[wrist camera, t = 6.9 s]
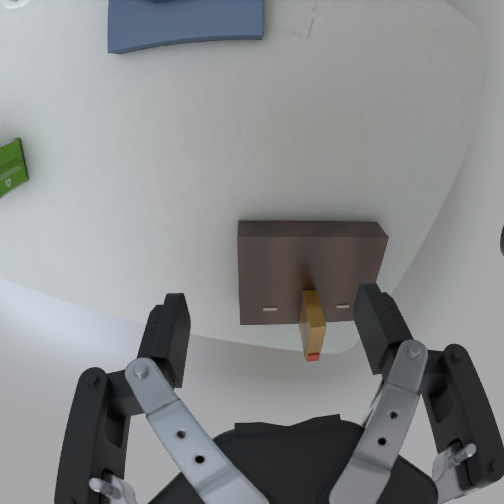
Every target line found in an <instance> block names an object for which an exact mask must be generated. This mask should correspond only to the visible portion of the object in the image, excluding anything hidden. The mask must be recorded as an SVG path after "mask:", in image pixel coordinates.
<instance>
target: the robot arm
mask: <svg viewBox="0 0 504 504" xmlns="http://www.w3.org/2000/svg"><path fill="white" fill-rule="evenodd" d="M353 317H354V321H355V324H356V327H357V329H358V332H359V335H360V338H361V340H362V343H363V346H364V349H365V352H366V355H367V358H368V361H369V364H370V367H371V370H372V373H373V375H376V374H381V375H382V377H383V379H382V380H381V382H380V385H379V387H378V389H377V391H376V394H375V396H374V398H373V400H372V402H371V404H370V406H369V409H368V410H367V412H366V414H365V416H364V418H363V419H362V421H361V423H360V425H358V424H356V423H353V422H349V421H345V420H341V419H340V414H336V415H330V416H322V417H315V418H312V419H309V420H306V421H304V422H301V423H298V424H295V425H292V426H282V425H275V424H269V423H263V422H255V423H235V429H233V430H229V431H227V432H224V433H222V434H220V435H218V436H216V437H215V438H213V439H211V438H210V437H209V435H208V434H207V433H206V432H205V430H204V429H203V428H202V427H201V426H200V424H199V423H198V421H197V420H196V419H195V418H194V416H193V415H192V414H191V412H190V411H189V410H188V408H187V407H186V405H185V404H184V403H183V401H182V400H181V399H180V398H179V397H178V396H177V395H176V393H175V392H174V388H182V382H183V375H184V368H185V361H186V355H187V348H188V341H189V335H190V328H191V321H190V315H189V311H188V307H187V304H186V300H185V296H184V294H183V293H167V294H166V297H165V301H164V304H163V305H156V306H155V307H154V309H153V310H152V311H151V312H150V314H149V318H148V321H147V324H146V328H145V331H144V335H143V338H142V341H141V345H140V348H139V352H138V356H137V358H136V359H135V360H133V361H132V362H130V363H129V364H128V366H127V367H126V369H124V370H121V371H117V372H112V373H107V374H106V373H105V371H104V370H102V369H101V368H97V367H93V368H89V369H87V370H85V371H84V372H83V373H82V374H81V376H80V378H79V381H78V384H77V388H76V391H75V395H74V399H73V402H72V406H71V410H70V414H69V419H68V423H67V428H66V431H65V436H64V441H63V446H62V451H61V456H60V463H59V469H58V475H57V482H56V489H55V499H54V503H55V504H137V502H136V499H135V492H134V490H133V488H132V486H131V485H130V484H128V483H127V482H126V481H124V471H125V460H126V449H127V441H128V433H129V425H130V418H131V416H132V415H138V414H142V413H145V414H146V418H147V420H148V422H149V423H150V425H151V427H152V428H153V430H154V432H155V433H156V435H157V436H158V438H159V440H160V441H161V443H162V444H163V446H164V447H165V449H166V450H167V452H168V453H169V455H170V456H171V457H172V459H173V460H174V462H175V463H176V464H177V466H178V467H179V469H180V470H181V472H180V473H179V474H178V475H177V476H176V477H175V478H174V479H173V480H172V481H171V482H170V483H169V484H168V485H167V486H166V487H165V488H164V489H163V490H162V491H160V492H159V493H158V494H157V495H156V496H155V497H154V498H153V499H152V500H151V501H150V502H149V503H148V504H442V503H444V502H447V501H449V500H451V499H457V498H460V497H462V496H465V495H467V494H470V493H472V492H474V491H477V490H479V489H481V488H483V487H486V486H488V485H490V484H492V483H494V482H496V481H498V480H499V479H501V478H502V477H503V475H504V446H503V443H502V440H501V436H500V433H499V430H498V427H497V424H496V421H495V418H494V415H493V412H492V409H491V406H490V404H489V401H488V399H487V396H486V393H485V391H484V388H483V386H482V383H481V381H480V379H479V377H478V374H477V372H476V369H475V367H474V365H473V363H472V360H471V358H470V356H469V354H468V352H467V351H466V349H465V348H464V347H462V346H461V345H458V344H450V345H448V346H447V347H446V348H445V350H444V351H434V350H427V348H426V347H425V346H424V345H423V344H422V343H421V342H419V341H417V340H414V339H413V337H412V335H411V333H410V331H409V329H408V327H407V325H406V323H405V321H404V319H403V317H402V316H401V313H400V311H399V309H398V307H397V305H396V303H395V301H394V299H393V298H392V297H390V296H389V295H388V294H387V293H386V292H384V293H381V291H380V289H379V287H378V285H377V284H376V283H375V282H374V283H363V284H360V285H359V287H358V291H357V295H356V299H355V303H354V307H353ZM420 394H422V397H423V400H424V403H425V407H426V410H427V414H428V417H429V421H430V424H431V428H432V432H433V436H434V439H435V444H436V448H437V452H438V455H437V457H436V458H435V460H434V462H433V469H432V473H433V475H432V478H430V477H429V476H428V475H427V474H425V473H424V472H422V471H421V470H420V469H418V468H417V467H415V466H414V465H413V464H411V463H410V462H409V461H407V460H406V459H404V458H403V457H402V456H400V455H399V451H400V449H401V447H402V444H403V441H404V439H405V437H406V434H407V432H408V429H409V427H410V424H411V421H412V419H413V416H414V413H415V410H416V407H417V404H418V401H419V398H420Z"/></svg>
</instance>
